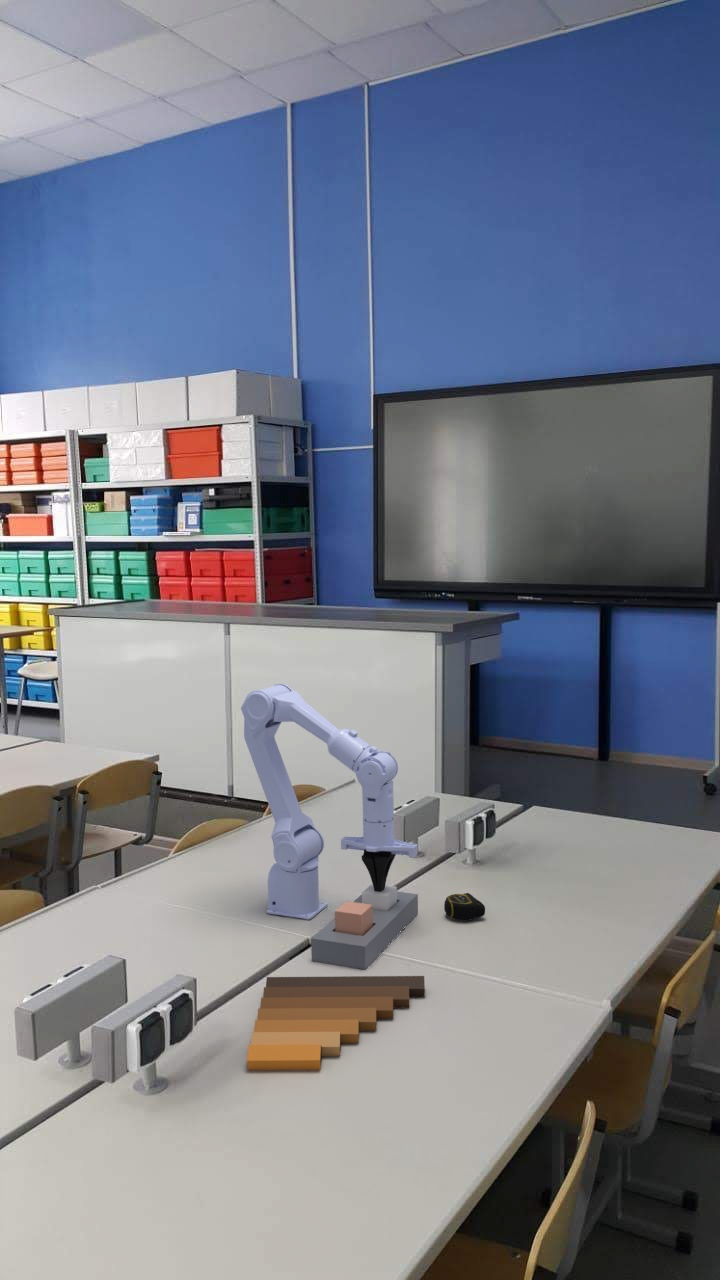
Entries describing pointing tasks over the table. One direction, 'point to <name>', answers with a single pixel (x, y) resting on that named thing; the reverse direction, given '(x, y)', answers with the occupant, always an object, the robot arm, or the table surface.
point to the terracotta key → (354, 918)
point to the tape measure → (463, 907)
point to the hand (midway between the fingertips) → (379, 889)
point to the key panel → (364, 948)
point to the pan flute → (322, 1016)
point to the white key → (380, 898)
